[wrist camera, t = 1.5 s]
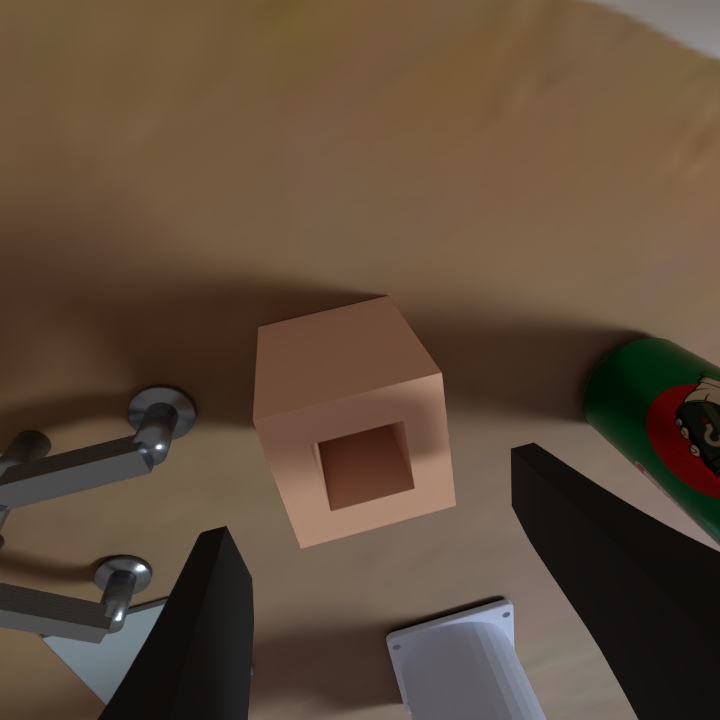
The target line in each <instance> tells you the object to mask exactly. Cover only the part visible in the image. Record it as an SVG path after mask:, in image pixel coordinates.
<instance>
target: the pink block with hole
mask: <svg viewBox="0 0 720 720" xmlns="http://www.w3.org/2000/svg"><path fill="white" fill-rule="evenodd" d="M253 423H254V425H255V428H256V431H257V433H258V436H259V439H260V441H261V444H262V447H263V449H264V452H265V455H266V457H267V460H268V463H269V465H270V468H271V470H272V473H273V476H274V478H275V481H276V484H277V486H278V489H279V492H280V494H281V497H282V500H283V502H284V505H285V508H286V510H287V513H288V516H289V518H290V521H291V523H292V526H293V529H294V531H295V534H296V537H297V539H298V542H299V545H300V547H301V549H302V548H305V547H309V546H313V545H316V544H320V543H324V542H327V541H331V540H334V539H338V538H342V537H345V536H349V535H352V534H356V533H360V532H363V531H367V530H370V529H374V528H378V527H381V526H385V525H388V524H392V523H396V522H399V521H403V520H406V519H410V518H414V517H417V516H421V515H424V514H428V513H432V512H435V511H439V510H442V509H446V508H450V507H453V506H456V502H455V493H454V483H453V474H452V464H451V455H450V445H449V436H448V426H447V417H446V407H445V398H444V389H443V379H442V372H441V371H440V369H439V368H438V366H437V365H436V364H435V362H434V361H433V359H432V358H431V356H430V355H429V353H428V352H427V351H426V349H425V348H424V346H423V345H422V343H421V342H420V340H419V339H418V338H417V336H416V335H415V333H414V332H413V330H412V329H411V328H410V326H409V325H408V323H407V322H406V320H405V319H404V317H403V316H402V315H401V313H400V312H399V310H398V309H397V307H396V306H395V305H394V303H393V302H392V300H391V299H390V297H389V296H385V297H381V298H376V299H372V300H368V301H364V302H360V303H356V304H351V305H347V306H343V307H339V308H335V309H331V310H327V311H322V312H318V313H314V314H310V315H306V316H302V317H297V318H293V319H289V320H285V321H281V322H277V323H273V324H268V325H264V326H260V327H258V340H257V357H256V374H255V391H254V408H253Z"/></svg>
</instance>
